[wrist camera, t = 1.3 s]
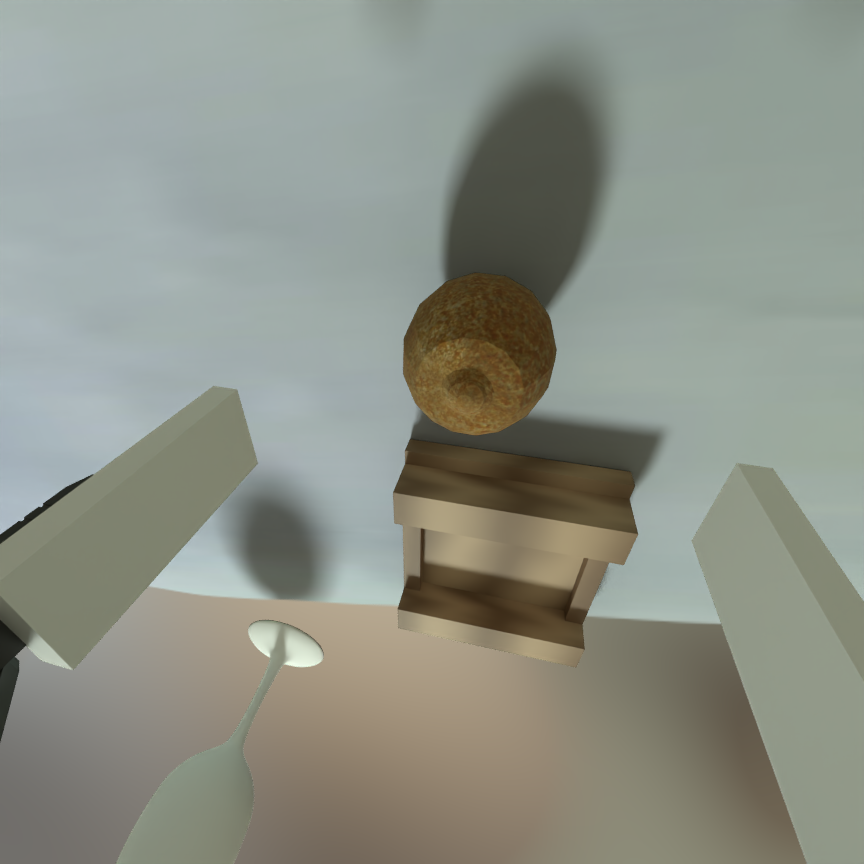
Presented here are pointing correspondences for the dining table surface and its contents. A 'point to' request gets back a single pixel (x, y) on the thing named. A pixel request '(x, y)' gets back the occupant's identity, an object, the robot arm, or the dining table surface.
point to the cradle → (507, 546)
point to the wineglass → (215, 777)
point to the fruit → (479, 354)
